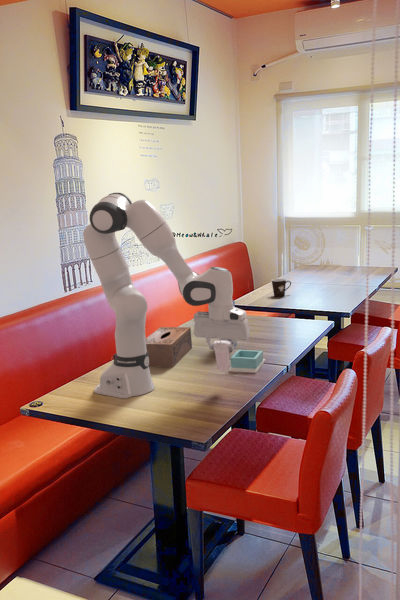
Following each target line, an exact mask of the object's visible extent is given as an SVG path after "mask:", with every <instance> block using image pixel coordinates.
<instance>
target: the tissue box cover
mask: <svg viewBox="0 0 400 600" xmlns="http://www.w3.org/2000/svg"><path fill="white" fill-rule="evenodd" d="M146 348H147V351H148V356H149V367H154V366H155V367H157V368H161V367H162V368H175V366H176V365H177V364H178V363H179V362H180V361H181V360H182V359H184V357H185V356H186V355H187V354H188V353H189V352H190V351H191V350H192V349H193V341H192V329H191V327H187V326H185V327H184V326H183V327H182V326H181V327H180V326H177V327H175V326H160V327H158V329H156V330H155V331H153V332H152V333H151V334H149V335H148V336H146Z"/></svg>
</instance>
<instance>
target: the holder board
mask: <svg viewBox="0 0 400 600" xmlns="http://www.w3.org/2000/svg"><path fill="white" fill-rule="evenodd" d="M265 362H266V358H264V350H258V349H257V350H254V349H253V350H252V349H251V350H250V349H237V350H236V352H234V353H233V354H232V356H231V357H230V367H228V372H237V373H254V374H255V373H257V372H258V371H259V370H260V369H261V367H262V366H263V365H264V364H265Z"/></svg>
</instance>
